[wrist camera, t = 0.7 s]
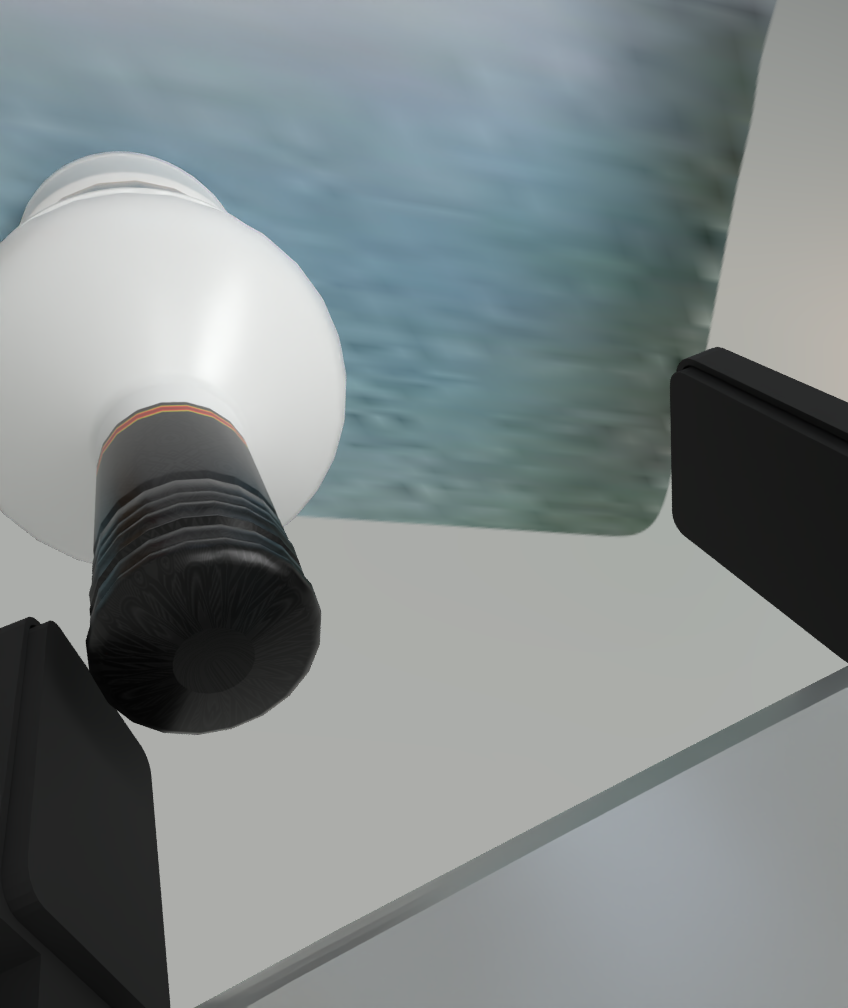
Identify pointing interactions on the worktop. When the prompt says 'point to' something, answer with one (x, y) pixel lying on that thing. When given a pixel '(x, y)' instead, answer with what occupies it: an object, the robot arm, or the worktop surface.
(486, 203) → the worktop surface
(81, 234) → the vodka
